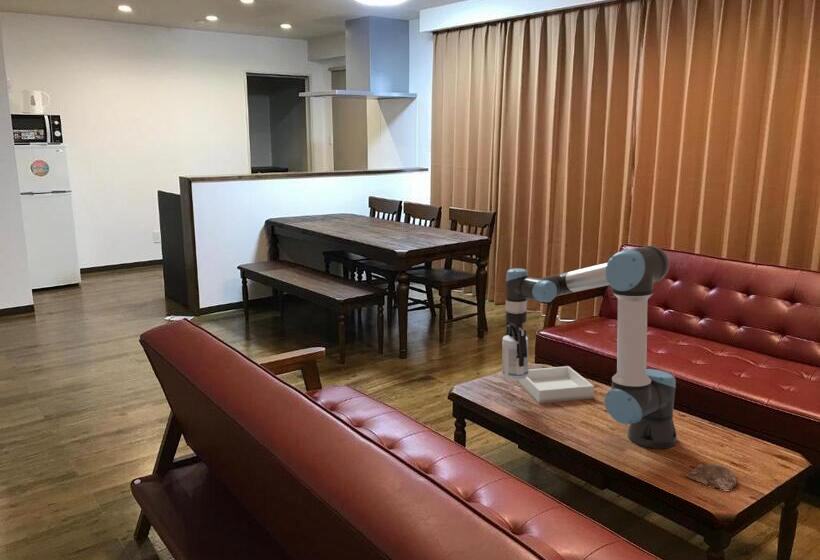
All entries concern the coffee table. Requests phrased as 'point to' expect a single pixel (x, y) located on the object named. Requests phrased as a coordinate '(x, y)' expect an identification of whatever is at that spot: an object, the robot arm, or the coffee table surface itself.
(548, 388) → the white bin
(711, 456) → the coffee table surface
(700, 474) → the shell
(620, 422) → the robot arm
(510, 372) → the supplement tub
